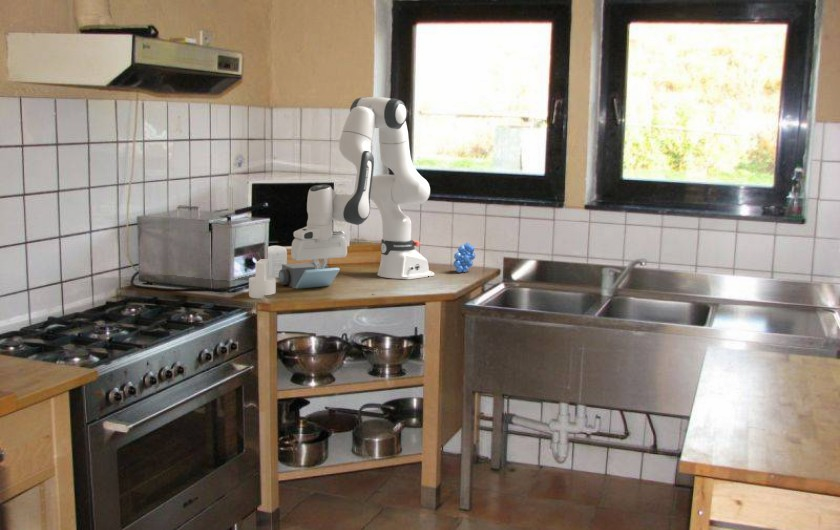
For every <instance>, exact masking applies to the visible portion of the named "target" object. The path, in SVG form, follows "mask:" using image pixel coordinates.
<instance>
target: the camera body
mask: <svg viewBox="0 0 840 530" xmlns="http://www.w3.org/2000/svg"><path fill="white" fill-rule="evenodd" d="M317 264H318V266H321V264H322V262H320V261H319V260H318V262H317ZM326 268H329V265H328V264H326V265H325V267H324V269H326ZM313 269H315V266H314V265H313V263H312V261H311V262H310V261H309V262H297V263H296V262H294V263H287V264H282V269H281V270H280V272H279V278H278V282H279V283H280V285H281V286H288V287H290V288H295V287H296V285H297V284H298V282H299V280H300V279H301V277H302V275H303V273H304V272H305V270H313Z"/></svg>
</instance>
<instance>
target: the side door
mask: <svg viewBox="0 0 840 530" xmlns="http://www.w3.org/2000/svg"><path fill="white" fill-rule="evenodd" d="M340 271H341V269H340V267H330V268H326V269H313V270H305V272H304V273H303V275H302V277H301V279H300V280H299V282H298V284H297V285H296V287H294V288H295V289H306V288H308V289H309V288H319V287H330V286H331V285H332V283H333V282H334V281H335V278H336V277H337V276H338V274H339V272H340Z"/></svg>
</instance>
